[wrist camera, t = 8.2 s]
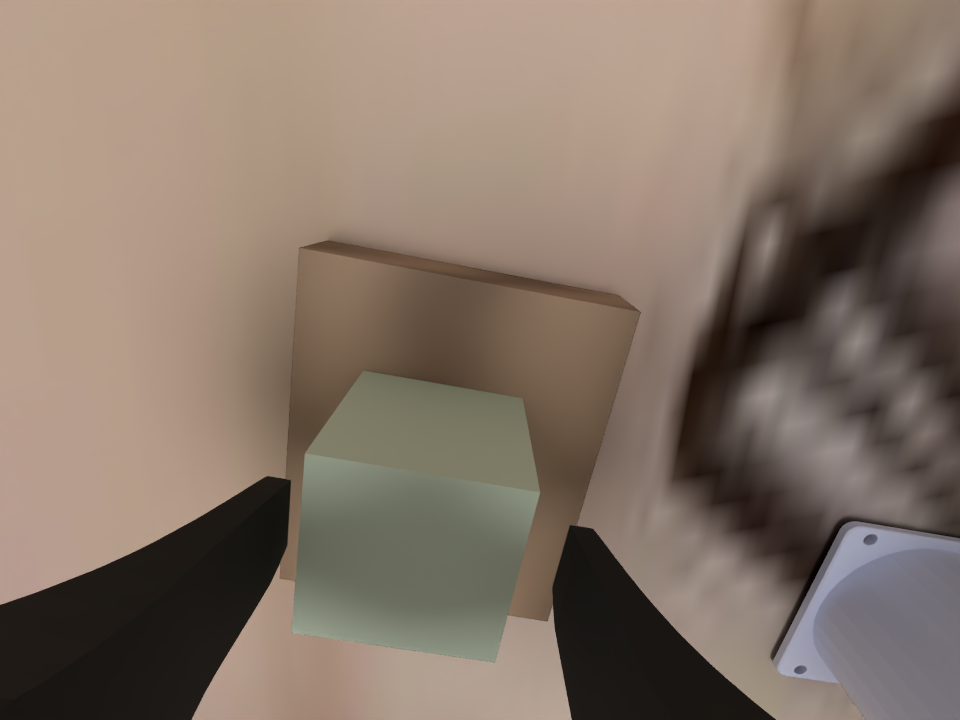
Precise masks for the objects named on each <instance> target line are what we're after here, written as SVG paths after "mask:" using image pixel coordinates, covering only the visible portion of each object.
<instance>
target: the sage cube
mask: <svg viewBox="0 0 960 720" xmlns="http://www.w3.org/2000/svg"><path fill="white" fill-rule="evenodd" d="M539 495H540V489H539V483H538V478H537V473H536V467H535V462H534V456H533V451H532V446H531V440H530V435H529V429H528V424H527V419H526V413H525V408H524V402H523V398H518V397H512V396H507V395H501V394H495V393H490V392H484V391H478V390H473V389H467V388H461V387H455V386H450V385H444V384H438V383H433V382H427V381H421V380H416V379H410V378H404V377H398V376H393V375H387V374H381V373H376V372H370V371H364V370H363V372H362V373H361V375H360V376H359V377H358V379H357V380H356V382H355V383H354V384H353V386H352V387H351V389H350V390H349V392H348V393H347V394H346V396H345V397H344V399H343V400H342V401H341V403H340V404H339V406H338V407H337V409H336V410H335V411H334V413H333V414H332V416H331V417H330V418H329V420H328V421H327V423H326V424H325V426H324V427H323V428H322V430H321V431H320V433H319V434H318V435H317V437H316V438H315V440H314V441H313V442H312V444H311V445H310V447H309V448H308V450H307V451H306V452H305V458H304V472H303V485H302V499H301V512H300V526H299V539H298V553H297V567H296V580H295V594H294V607H293V621H292V633H296V634H303V635H310V636H316V637H323V638H330V639H337V640H343V641H350V642H357V643H364V644H371V645H377V646H384V647H391V648H398V649H404V650H411V651H418V652H425V653H432V654H438V655H445V656H452V657H459V658H466V659H472V660H479V661H486V662H493V663H495V661H496V657H497V653H498V650H499V646H500V642H501V638H502V635H503V631H504V627H505V623H506V619H507V616H508V612H509V608H510V604H511V601H512V597H513V593H514V589H515V585H516V582H517V578H518V574H519V570H520V567H521V563H522V559H523V555H524V551H525V548H526V544H527V540H528V536H529V533H530V529H531V525H532V521H533V518H534V514H535V510H536V506H537V502H538V499H539Z"/></svg>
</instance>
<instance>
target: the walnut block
mask: <svg viewBox="0 0 960 720" xmlns="http://www.w3.org/2000/svg"><path fill="white" fill-rule="evenodd" d="M640 313H641V312H640V311H639V310H637V309H636V308H635V307H633V306H632V305H631V304H629V303H628V302H627V301H625V300H624V299H623V298H621V297H620V296H618V295H613V294H608V293H602V292H597V291H592V290H586V289H581V288H576V287H571V286H565V285H560V284H555V283H549V282H544V281H539V280H533V279H528V278H523V277H518V276H512V275H507V274H502V273H496V272H491V271H486V270H481V269H475V268H470V267H465V266H459V265H454V264H449V263H443V262H438V261H433V260H428V259H422V258H417V257H412V256H406V255H401V254H396V253H391V252H385V251H380V250H375V249H369V248H364V247H359V246H353V245H348V244H343V243H338V242H332V241H324V242H320V243H316V244H312V245H308V246H305V247H301V248H299V261H298V278H297V294H296V311H295V328H294V345H293V362H292V379H291V395H290V412H289V429H288V446H287V463H286V479H288V480H291V492H290V510H289V528H288V546H287V548H286V550H285V553H284V555H283V557H282V559H281V563H280V579H286V580H292V581H295V580H296V567H297V553H298V539H299V526H300V512H301V499H302V485H303V472H304V458H305V452H306V451H307V450H308V448H309V447H310V445H311V444H312V442H313V441H314V440H315V438H316V437H317V435H318V434H319V433H320V431H321V430H322V428H323V427H324V426H325V424H326V423H327V421H328V420H329V418H330V417H331V416H332V414H333V413H334V411H335V410H336V409H337V407H338V406H339V404H340V403H341V401H342V400H343V399H344V397H345V396H346V394H347V393H348V392H349V390H350V389H351V387H352V386H353V384H354V383H355V382H356V380H357V379H358V377H359V376H360V375H361V373H362V372H363V370H364V371H370V372H376V373H381V374H387V375H393V376H398V377H404V378H410V379H416V380H421V381H427V382H433V383H438V384H444V385H450V386H455V387H461V388H467V389H473V390H478V391H484V392H490V393H495V394H501V395H507V396H512V397H518V398H523V402H524V408H525V413H526V419H527V424H528V429H529V435H530V440H531V446H532V451H533V456H534V462H535V467H536V473H537V478H538V483H539V489H540V495H539V499H538V502H537V506H536V510H535V514H534V518H533V521H532V525H531V529H530V533H529V536H528V540H527V544H526V548H525V551H524V555H523V559H522V563H521V567H520V570H519V574H518V578H517V582H516V585H515V589H514V593H513V597H512V601H511V604H510V608H509V612H508V615H510V616H516V617H523V618H529V619H535V620H541V621H548V618H549V615H550V612H551V608H552V605H553V594H552V586H553V582H554V579H555V575H556V572H557V568H558V565H559V561H560V558H561V554H562V551H563V547H564V544H565V540H566V537H567V533H568V530H569V526H570V525H573V526H576V525H577V522H578V519H579V515H580V512H581V509H582V505H583V502H584V499H585V495H586V492H587V489H588V486H589V482H590V479H591V476H592V472H593V469H594V466H595V462H596V459H597V456H598V452H599V449H600V446H601V442H602V439H603V436H604V432H605V429H606V426H607V423H608V419H609V416H610V413H611V409H612V406H613V403H614V399H615V396H616V393H617V389H618V386H619V383H620V379H621V376H622V373H623V369H624V366H625V363H626V359H627V356H628V353H629V350H630V346H631V343H632V340H633V336H634V333H635V330H636V326H637V323H638V320H639V316H640Z"/></svg>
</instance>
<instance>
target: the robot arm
mask: <svg viewBox="0 0 960 720" xmlns="http://www.w3.org/2000/svg"><path fill="white" fill-rule="evenodd" d="M290 492H291V480H288V479H281V478H275V477H269V476H267V477H265V478H263V479H261V480H260V481H258V482H256V483H255V484H253V485H252V486H250V487H248V488H247V489H245V490H244V491H242V492H240V493H239V494H237V495H236V496H234V497H232V498H231V499H229V500H227V501H226V502H224V503H222V504H221V505H219V506H217V507H216V508H214V509H212V510H211V511H209V512H207V513H206V514H204V515H202V516H201V517H199V518H197V519H196V520H194V521H192V522H190V523H188V524H187V525H185V526H183V527H181V528H179V529H177V530H176V531H174V532H172V533H170V534H168V535H166V536H165V537H163V538H161V539H159V540H157V541H155V542H153V543H151V544H149V545H147V546H145V547H143V548H141V549H139V550H137V551H135V552H133V553H131V554H129V555H127V556H124V557H122V558H120V559H118V560H116V561H113V562H111V563H109V564H107V565H105V566H102V567H100V568H98V569H95V570H93V571H91V572H88V573H85V574H83V575H80V576H78V577H75V578H73V579H70V580H67V581H65V582H62V583H60V584H57V585H55V586H52V587H50V588H47V589H44V590H42V591H39V592H36V593H34V594H31V595H28V596H25V597H22V598H19V599H16V600H13V601H11V602H8V603H5V604H2V605H0V720H191V719H192V717H193V715H194V713H195V711H196V709H197V707H198V705H199V703H200V701H201V699H202V697H203V695H204V693H205V691H206V690H207V688H208V686H209V684H210V683H211V681H212V679H213V677H214V675H215V674H216V672H217V670H218V669H219V667H220V665H221V664H222V662H223V660H224V659H225V657H226V656H227V654H228V652H229V651H230V649H231V647H232V646H233V644H234V643H235V641H236V639H237V638H238V636H239V634H240V633H241V631H242V629H243V628H244V626H245V625H246V623H247V621H248V620H249V618H250V616H251V615H252V613H253V612H254V610H255V608H256V607H257V605H258V603H259V602H260V600H261V598H262V597H263V595H264V593H265V592H266V590H267V588H268V587H269V585H270V583H271V581H272V579H273V577H274V575H275V572H276V570H277V568H278V566H279V564H280V562H281V559H282V557H283V555H284V553H285V550H286V548H287V546H288V528H289V510H290ZM867 535H868V536H867ZM866 536H867V537H866ZM552 594H553V611H554V624H555V632H556V637H557V643H558V648H559V654H560V659H561V665H562V670H563V675H564V680H565V686H566V691H567V696H568V702H569V707H570V712H571V718H572V720H776V719H774V718H773V717H772V716H771V715H769V714H768V713H767V712H766V711H764V710H763V709H762V708H761V707H759V706H758V705H757V704H756V703H754V702H753V701H752V700H751V699H750V698H748V697H747V696H746V695H745V694H744V693H743V692H742V691H740V690H739V689H738V688H737V687H736V686H735V685H733V684H732V683H731V682H730V681H729V680H728V679H726V678H725V677H724V676H723V675H722V674H721V673H720V672H719V671H717V670H716V669H715V668H714V667H713V666H712V665H711V664H710V663H709V662H708V661H707V660H706V659H705V658H704V657H703V656H701V655H700V654H699V653H698V652H697V651H696V650H695V649H694V648H693V647H692V646H691V645H690V644H689V643H688V642H687V641H686V640H685V639H684V638H683V637H682V636H681V635H680V634H679V633H678V632H677V631H676V630H675V628H674V627H673V626H672V625H671V624H670V623H669V622H668V621H667V620H666V619H665V617H664V616H663V615H662V614H661V613H660V612H659V611H658V610H657V609H656V607H655V606H654V605H653V604H652V603H651V602H650V600H649V599H648V598H647V597H646V596H645V595H644V593H643V592H642V591H641V590H640V589H639V587H638V586H637V585H636V584H635V582H634V581H633V580H632V579H631V577H630V576H629V575H628V574H627V572H626V571H625V570H624V568H623V567H622V566H621V565H620V563H619V562H618V561H617V559H616V558H615V557H614V555H613V554H612V553H611V552H610V550H609V549H608V548H607V546H606V545H605V544H604V542H603V541H602V540H601V538H600V537H599V536H598V534H597V533H596V532H595V531H594V529H591V528H585V527H579V526H573V525H570V526H569V530H568V533H567V537H566V540H565V544H564V547H563V551H562V554H561V558H560V561H559V565H558V568H557V572H556V575H555V579H554V582H553V586H552ZM773 664H774V666H775V668H776V669H777V671H778V672H779V673H780V674H782V675H785V676H791V677H798V678H804V679H811V680H818V681H824V682H831V683H838V684H840V685H841V686H842V687H843V689H844V690H845V692H846V693H847V694H848V696H849V697H850V699H851V700H852V701H853V703H854V704H855V705H856V707H857V708H858V710H859V711H860V712H861V714H862V715H863V717H864V718H865V719H866V720H960V538H955V537H949V536H943V535H937V534H931V533H925V532H918V531H912V530H906V529H900V528H894V527H888V526H882V525H876V524H870V523H864V522H858V521H852V522H848V523H846V524H844V525H843V526H842V527H841V529H840V530H839V532H838V534H837V536H836V538H835V540H834V542H833V544H832V546H831V548H830V550H829V552H828V554H827V556H826V558H825V560H824V562H823V564H822V566H821V567H820V569H819V571H818V573H817V575H816V577H815V579H814V581H813V583H812V585H811V587H810V589H809V591H808V593H807V595H806V597H805V599H804V601H803V603H802V605H801V607H800V609H799V611H798V613H797V615H796V617H795V619H794V621H793V622H792V624H791V626H790V628H789V630H788V632H787V634H786V636H785V638H784V640H783V642H782V644H781V646H780V648H779V650H778V652H777V654H776V656H775V658H774V661H773Z"/></svg>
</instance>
